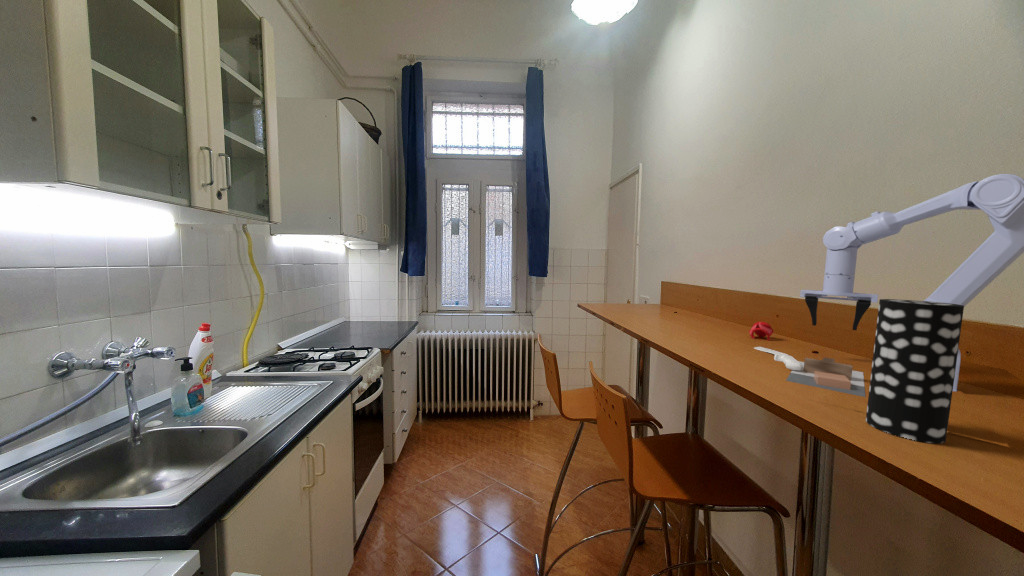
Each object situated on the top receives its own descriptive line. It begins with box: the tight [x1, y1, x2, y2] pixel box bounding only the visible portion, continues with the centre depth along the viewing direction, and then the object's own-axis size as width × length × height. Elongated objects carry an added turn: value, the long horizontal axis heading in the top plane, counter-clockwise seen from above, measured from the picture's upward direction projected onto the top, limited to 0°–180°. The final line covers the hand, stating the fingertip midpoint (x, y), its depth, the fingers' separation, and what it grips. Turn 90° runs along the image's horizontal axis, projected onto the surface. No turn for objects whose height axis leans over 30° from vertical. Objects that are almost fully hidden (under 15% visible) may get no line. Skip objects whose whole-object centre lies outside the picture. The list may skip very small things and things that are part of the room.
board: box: [785, 360, 866, 398], centre depth 79 cm, size 12×22×1 cm, turn 136°
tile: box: [814, 371, 851, 390], centre depth 74 cm, size 5×5×2 cm
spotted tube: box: [865, 298, 965, 444], centre depth 54 cm, size 8×8×20 cm
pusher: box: [803, 356, 853, 381], centre depth 81 cm, size 8×6×3 cm
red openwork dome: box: [748, 321, 774, 341], centre depth 119 cm, size 8×6×6 cm
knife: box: [753, 346, 802, 371], centre depth 95 cm, size 30×2×8 cm
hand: (833, 327), depth 91 cm, fingers open, 7 cm apart
